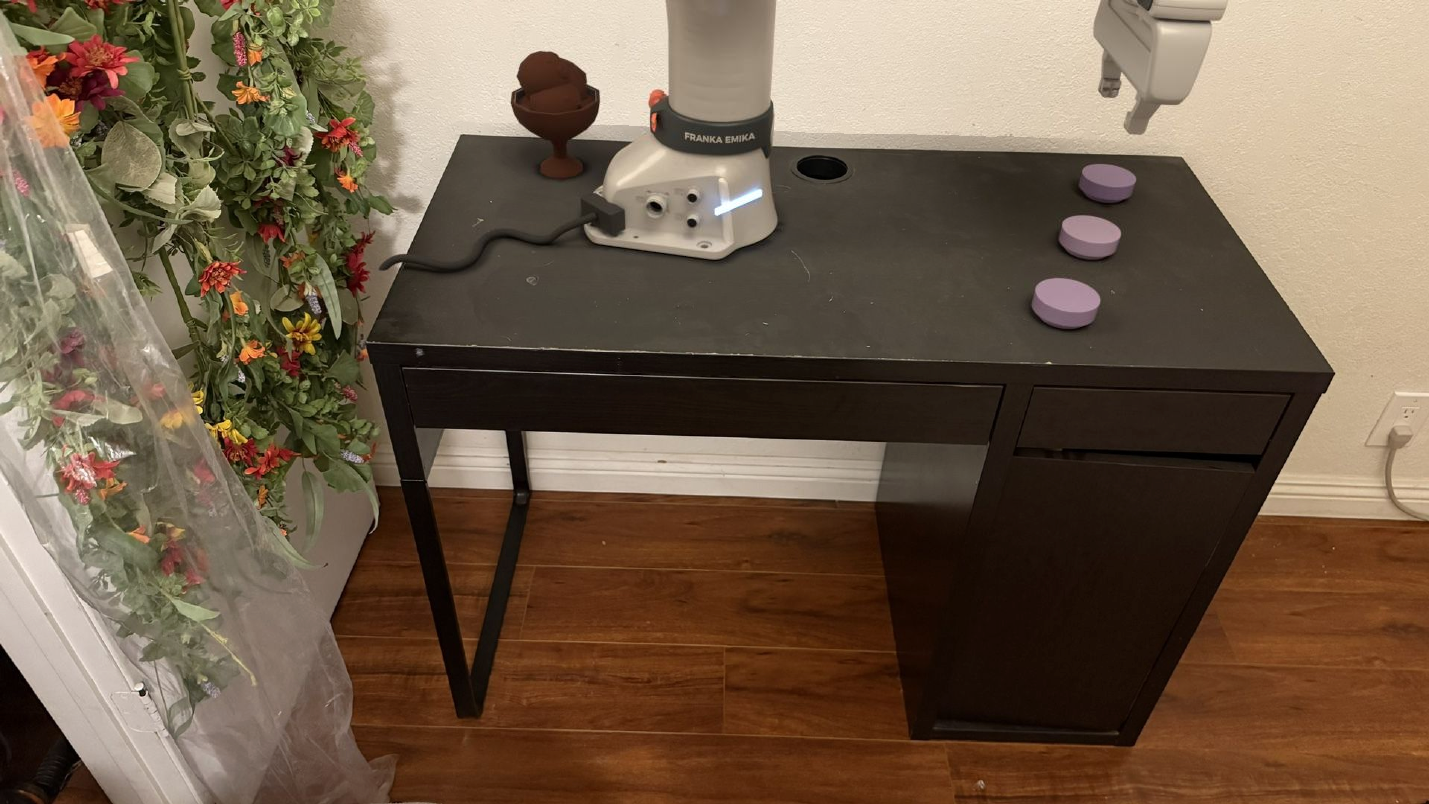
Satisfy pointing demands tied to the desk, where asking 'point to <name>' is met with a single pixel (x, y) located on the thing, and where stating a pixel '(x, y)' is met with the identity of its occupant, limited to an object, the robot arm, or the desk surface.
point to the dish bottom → (1107, 183)
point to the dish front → (1065, 303)
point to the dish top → (1089, 237)
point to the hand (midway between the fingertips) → (1119, 113)
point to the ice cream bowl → (555, 107)
